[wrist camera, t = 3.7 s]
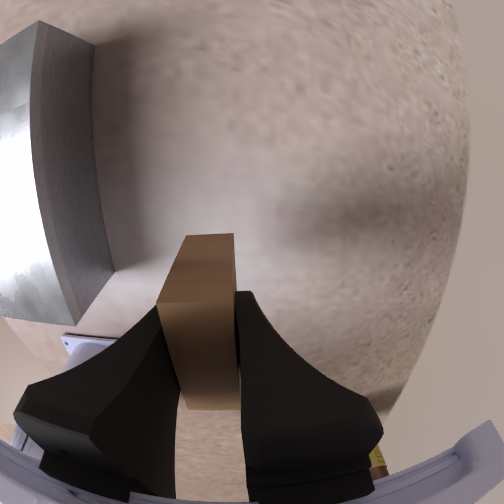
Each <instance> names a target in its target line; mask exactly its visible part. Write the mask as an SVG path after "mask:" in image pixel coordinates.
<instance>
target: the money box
mask: <svg viewBox="0 0 504 504" xmlns="http://www.w3.org/2000/svg"><path fill="white" fill-rule="evenodd" d="M93 49H94V45H92V44H90V43H88V42H86V41H84V40H82V39H80V38H78V37H76V36H74V35H72V34H70V33H67V32H65V31H63V30H61V29H58V28H56V27H54V26H52V25H49V24H47V23H44V22H42V21H37V22H35V23H34V24H32V25H30V26H29V27H27V28H25V29H24V30H22V31H21V32H19V33H17V34H16V35H14V36H13V37H11V38H10V39H8V40H7V41H6V42H4V43H3V44H1V45H0V316H4V317H9V318H15V319H21V320H28V321H34V322H42V323H49V324H57V325H66V326H76V325H77V324H78V322H79V321H80V319H81V318H82V316H83V315H84V314H85V312H86V311H87V309H88V308H89V306H90V305H91V304H92V302H93V301H94V299H95V298H96V297H97V295H98V294H99V292H100V291H101V290H102V288H103V287H104V286H105V284H106V283H107V282H108V280H109V279H110V278H111V276H112V275H113V274H114V269H113V265H112V261H111V256H110V252H109V247H108V243H107V238H106V233H105V228H104V223H103V217H102V212H101V206H100V199H99V192H98V185H97V177H96V169H95V159H94V147H93V132H92V63H93Z"/></svg>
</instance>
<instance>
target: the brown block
mask: <svg viewBox="0 0 504 504" xmlns="http://www.w3.org/2000/svg"><path fill="white" fill-rule="evenodd" d="M235 291H237V288H236V271H235V253H234V234H233V233H229V234H207V235H187V236H186V237H185V239H184V241H183V243H182V246H181V248H180V250H179V252H178V254H177V256H176V258H175V261H174V263H173V265H172V267H171V269H170V272H169V274H168V276H167V278H166V281H165V283H164V285H163V288H162V290H161V292H160V295H159V297H158V299H157V302H156V305H157V309H158V313H159V317H160V321H161V325H162V328H163V332H164V336H165V339H166V343H167V346H168V350H169V353H170V357H171V360H172V363H173V366H174V370H175V373H176V376H177V379H178V382H179V385H180V388H181V391H182V394H183V397H184V399H185V402H186V405H187V408H188V409H189V410H241V384H240V369H239V360H238V348H237V335H236V321H235V307H234V302H235Z"/></svg>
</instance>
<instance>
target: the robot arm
mask: <svg viewBox="0 0 504 504" xmlns="http://www.w3.org/2000/svg"><path fill="white" fill-rule="evenodd" d="M234 307H235V321H236V335H237V348H238V360H239V369H240V376H241V432H242V441H243V449H244V457H245V465H246V483H247V489H248V495H249V502H238V503H225V502H200V501H188V500H178V499H176V492H175V431H176V418H177V407H178V401H179V396H180V391H181V388H180V385H179V382H178V379H177V376H176V373H175V370H174V366H173V363H172V360H171V357H170V353H169V350H168V346H167V343H166V339H165V336H164V332H163V328H162V325H161V321H160V317H159V313H158V309H157V305H155V306H154V307H153V308H152V309H151V310H150V311H149V312H148V313H147V314H146V315H145V316H144V317H143V318H142V319H141V320H140V321H139V322H138V323H137V324H135V325H134V326H133V327H132V328H131V329H130V330H129V331H127V332H126V333H125V334H124V335H123V336H122V337H120V338H119V339H118V340H116V339H104V338H93V337H84V336H75V335H67V334H63V335H62V336H61V339H62V341H63V343H64V345H65V347H66V349H67V351H68V353H69V355H70V357H69V359H68V360H67V362H66V364H65V366H64V367H63V369H62V371H61V373H60V374H59V375H56V376H54V377H51V378H48V379H45V380H42V381H40V382H37V383H34V384H31V385H28V387H27V388H26V390H25V392H24V394H23V396H22V397H21V399H20V401H19V403H18V405H17V407H16V409H15V411H14V413H13V415H14V419H15V421H16V423H17V426H16V428H15V430H14V433H13V435H12V438H11V440H10V443H9V444H8V443H6V442H4V441H3V440H1V439H0V503H1V504H474V503H475V502H477V501H478V500H479V499H481V498H482V497H483V496H484V495H485V494H487V493H488V492H489V491H490V490H492V489H493V488H494V487H495V486H496V485H497V484H499V483H500V482H501V481H502V480H503V479H504V443H503V441H502V439H501V437H500V435H499V434H498V432H497V430H496V428H495V427H494V425H493V423H492V422H491V420H488V421H486V422H485V423H483V424H482V425H480V426H478V427H477V428H475V429H473V430H472V431H470V432H469V433H467V434H466V435H465V436H463V437H462V438H461V439H460V440H459V441H458V442H457V443H456V444H455V446H454V447H452V448H450V449H448V450H446V451H444V452H442V453H441V454H439V455H436V456H435V457H432V458H430V459H428V460H426V461H424V462H422V463H419V464H417V465H415V466H412V467H410V468H407V469H405V470H403V471H400V472H397V473H395V474H392V475H389V476H386V477H383V478H380V479H377V480H374V481H373V480H372V477H371V474H370V470H369V468H371V467H372V463H371V460H370V457H369V454H370V453H371V452H372V450H373V449H374V448H375V447H376V445H377V444H378V443H379V441H380V439H381V438H382V436H383V434H384V432H383V427H382V424H381V422H380V419H379V417H378V415H377V414H376V412H375V410H374V408H373V407H372V405H371V403H370V402H369V400H368V399H367V398H366V397H364V396H361V395H359V394H357V393H355V392H353V391H351V390H349V389H347V388H345V387H343V386H341V385H339V384H338V383H336V382H334V381H333V380H331V379H329V378H328V377H326V376H325V375H323V374H322V373H321V372H319V371H318V370H317V369H315V368H314V367H313V366H311V365H310V364H309V363H307V362H306V361H305V360H304V359H303V358H302V357H300V356H299V355H298V354H297V353H296V352H295V351H294V350H293V349H292V348H291V347H290V346H289V345H288V344H287V343H286V342H285V341H284V340H283V339H282V338H281V336H280V335H279V334H278V333H277V332H276V330H275V329H274V328H273V326H272V325H271V324H270V322H269V321H268V320H267V318H266V317H265V315H264V314H263V312H262V310H261V309H260V307H259V305H258V303H257V302H256V299H255V297H254V295H253V293H252V292H251V291H235V302H234Z"/></svg>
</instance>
